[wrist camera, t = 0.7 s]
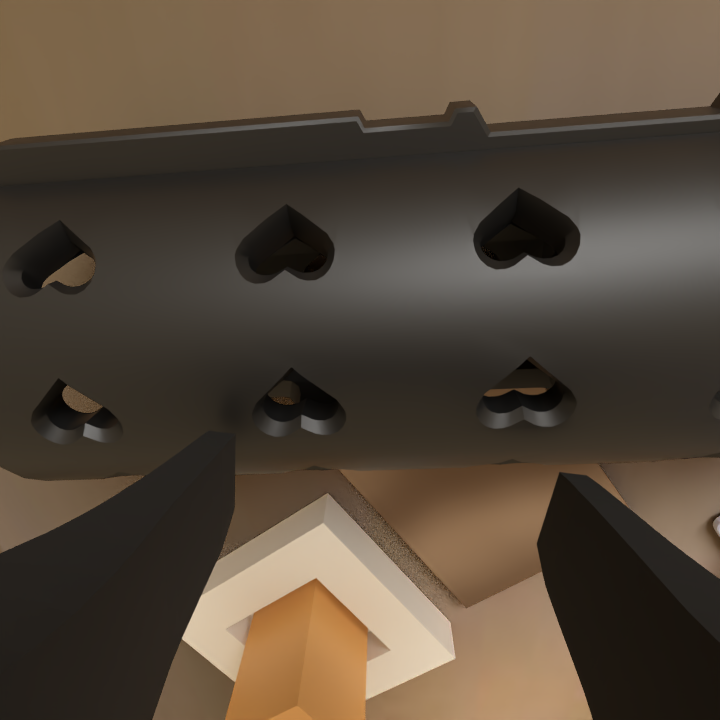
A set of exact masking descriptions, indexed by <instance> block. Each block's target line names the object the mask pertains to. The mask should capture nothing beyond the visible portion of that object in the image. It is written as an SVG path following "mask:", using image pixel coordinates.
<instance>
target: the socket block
mask: <svg viewBox="0 0 720 720" xmlns="http://www.w3.org/2000/svg"><path fill="white" fill-rule="evenodd" d="M315 578H317V579H318V580H319V581H320V582H321V583H322V584H323V585H324V586H325V587H326V588H327V589H328V590H329V591H330V592H331V593H332V594H333V595H334V596H335V597H336V598H337V599H338V600H339V601H340V602H342V603H343V604H344V605H345V606H346V607H347V608H348V609H349V610H350V611H351V612H352V613H353V614H354V615H355V616H356V617H357V618H358V619H359V620H360V621H361V622H362V623H363V624H364V625H365V626H366V627H367V628H368V638H367V670H366V700H367V699H369V698H371V697H374V696H376V695H378V694H380V693H382V692H384V691H386V690H389V689H391V688H393V687H395V686H397V685H399V684H402V683H404V682H406V681H408V680H410V679H412V678H415V677H417V676H419V675H421V674H423V673H425V672H428V671H430V670H432V669H434V668H436V667H438V666H440V665H443V664H445V663H447V662H449V661H451V660H453V659H455V652H454V644H453V637H452V630H451V623H450V621H449V620H448V619H447V618H446V617H445V616H444V615H443V614H442V613H441V612H440V611H439V610H438V609H437V608H436V607H435V606H434V604H433V603H432V602H431V601H430V600H429V599H428V598H427V597H426V596H425V595H424V594H423V593H422V592H421V591H420V590H419V589H418V588H417V587H416V585H415V584H414V583H413V582H412V581H411V580H410V579H409V578H408V577H407V576H406V575H405V574H404V573H403V572H402V571H401V570H400V569H399V568H398V566H397V565H396V564H395V563H394V562H393V561H392V560H391V559H390V558H389V557H388V556H387V555H386V554H385V553H384V552H383V551H382V550H381V549H380V547H379V546H378V545H377V544H376V543H375V542H374V541H373V540H372V539H371V538H370V537H369V536H368V535H367V534H366V533H365V532H364V531H363V530H362V528H361V527H360V526H359V525H358V524H357V523H356V522H355V521H354V520H353V519H352V518H351V517H350V516H349V515H348V514H347V513H346V512H345V511H344V509H343V508H342V507H341V506H340V505H339V504H338V503H337V502H336V501H335V500H334V499H333V498H332V497H331V496H330V495H329V494H328V493H327V494H325V495H324V496H322V497H320V498H319V499H317V500H316V501H314V502H312V503H311V504H309V505H307V506H306V507H304V508H303V509H301V510H299V511H298V512H296V513H294V514H293V515H291V516H290V517H288V518H286V519H285V520H283V521H281V522H280V523H278V524H277V525H275V526H273V527H272V528H270V529H268V530H267V531H265V532H264V533H262V534H260V535H259V536H257V537H255V538H254V539H252V540H251V541H249V542H247V543H246V544H244V545H242V546H241V547H239V548H238V549H236V550H234V551H233V552H231V553H229V554H228V555H226V556H225V557H223V558H221V559H220V560H218V561H217V562H216V564H215V566H214V568H213V571H212V573H211V575H210V577H209V580H208V582H207V584H206V586H205V588H204V591H203V593H202V595H201V597H200V599H199V602H198V604H197V606H196V608H195V611H194V613H193V615H192V617H191V619H190V622H189V624H188V626H187V628H186V630H185V633H184V635H183V637H182V639H183V640H184V641H185V642H186V643H188V644H189V645H190V646H191V647H192V648H194V649H195V650H196V651H197V652H199V653H200V654H201V655H202V656H203V657H205V658H206V659H207V660H208V661H210V662H211V663H212V664H213V665H214V666H216V667H217V668H218V669H219V670H221V671H222V672H223V673H224V674H225V675H227V676H228V677H229V678H230V679H232V680H233V681H234V682H236V678H237V674H238V670H239V667H240V663H241V659H242V656H243V652H244V648H245V645H246V641H247V637H248V633H249V630H250V626H251V622H252V619H253V615H254V613H255V612H256V611H258V610H260V609H262V608H263V607H265V606H267V605H269V604H271V603H272V602H274V601H276V600H278V599H279V598H281V597H283V596H285V595H287V594H288V593H290V592H292V591H294V590H295V589H297V588H299V587H301V586H303V585H304V584H306V583H308V582H310V581H311V580H313V579H315Z"/></svg>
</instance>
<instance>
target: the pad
mask: <svg viewBox="0 0 720 720" xmlns="http://www.w3.org/2000/svg"><path fill="white" fill-rule="evenodd" d="M511 390H513V389H492V390H489V391H487V392H486V393H485V394H484V396H488V397H491V396H499V395H503V394H505V393H507V392H509V391H511ZM514 390H517V391H519V392H521V393H523V394H528V395H538V394H541V393H544V392H546V391H547V390H546V388H517V389H514ZM339 470H340V472H341V473H342V474H343V475H344V476H345V477H346V478H347V479H348V480H349V481H350V482H351V483H352V485H353V486H354V487H355V488H356V489H357V490H358V491H359V492H360V493H361V494H362V495H363V497H364V498H365V499H366V500H367V501H368V502H369V503H370V504H371V505H372V506H373V507H374V508H375V510H376V511H377V512H378V513H379V514H380V515H381V516H382V517H383V518H384V519H385V520H386V522H387V523H388V524H389V525H390V526H391V527H392V528H393V529H394V530H395V531H396V532H397V534H398V535H399V536H400V537H401V538H402V539H403V540H404V541H405V542H406V543H407V544H408V545H409V547H410V548H411V549H412V550H413V551H414V552H415V553H416V554H417V555H418V556H419V557H420V559H421V560H422V561H423V562H424V563H425V564H426V565H427V566H428V567H429V568H430V569H431V570H432V572H433V573H434V574H435V575H436V576H437V577H438V578H439V579H440V580H441V581H442V582H443V584H444V585H445V586H446V587H447V588H448V589H449V590H450V591H451V592H452V593H453V594H454V595H455V597H456V598H457V599H458V600H459V601H460V602H461V603H462V604H463V605H464V606H465V607H466V608H468V607H470V606H472V605H474V604H476V603H478V602H480V601H482V600H484V599H486V598H488V597H490V596H492V595H494V594H496V593H499V592H501V591H503V590H505V589H507V588H509V587H511V586H513V585H515V584H517V583H519V582H521V581H523V580H525V579H527V578H529V577H531V576H533V575H535V574H537V573H539V572H541V571H542V568H541V563H540V558H539V553H538V548H537V541H538V537H539V534H540V531H541V528H542V525H543V522H544V519H545V515H546V512H547V509H548V506H549V503H550V500H551V497H552V494H553V490H554V487H555V484H556V481H557V478H558V475H559V472H563V473H572V474H580V475H587V476H589V477H590V478H591V479H593V480H594V481H596V482H597V483H598V484H600V485H601V486H602V487H603V488H605V489H606V490H607V491H608V492H610V493H611V494H612V495H613V496H615V497H616V498H617V499H618V500H619V501H621V502H622V503H623V504H624V505H626V506H627V507H628V505H627V504H626V503H625V501H624V500H623V498H622V497H621V495H620V494H619V493H618V491H617V490H616V488H615V487H614V485H613V484H612V483H611V481H610V480H609V478H608V477H607V475H606V474H605V473H604V471H603V470H602V468H601V467H600V465H599V464H598V463H596V464H564V465H543V464H536V463H512V464H502V465H496V464H486V465H478V466H470V467H465V468H436V469H404V470H372V471H356V470H344V469H339ZM628 508H629V507H628ZM629 509H630V508H629Z"/></svg>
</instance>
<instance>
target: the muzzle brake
mask: <svg viewBox="0 0 720 720" xmlns="http://www.w3.org/2000/svg"><path fill="white" fill-rule="evenodd" d="M483 246H484V247H485V248H487V249H488V250H490V251H491V252H492V253H494V257H493V259H491V258H489V257H488V256H486V255H485V254H484V252H483V251H482V249H481V247H483ZM83 253H86V254H87V255H88V256H90V257H91V258H93V259H94V261H95V263H96V267H95V273H94V275H93V277H92V278H91V279H90V280H89V281H88V282H86V283H85V284H83V285H81V286H77V287H70V286H65V285H64V284H62V283H60V282H58V281H55V282H52V283H50V284H48V285H46V286H45V287H44V288H41V287H42V284H43V282H44V281H45V280H46V279H47V278H48V277H49V276H50V275H51V274H53V273H54V272H55V271H57V270H58V269H60V268H61V267H62V266H64V265H65V264H66V263H68V262H69V261H71V260H72V259H74V258H76V257H78V256H79V255H81V254H83ZM320 254H321V255H323V256H324V257H326V258H327V260H326V262H325V264H324V265H323V266H322V267H321V268H320V269H319V270H317V271H314V272H311V271H310V270H309V269H308V265H309V264H310V263H311V262H312V261H313V260H314V259H315V258H316V257H318V256H319V255H320ZM67 385H68V386H70V387H71V388H73V389H75V390H76V391H78V392H80V393H81V394H83V395H85V396H87V397H88V398H90V399H92V400H93V401H95V402H97V403H98V404H100V405H102V406H103V407H102V408H101V409H99V410H98V411H96V412H93V413H82V412H78V411H76V410H74V409H72V408H70V407H69V406H68V405H67V404H66V403H65V401H64V400H63V397H62V392H63V389H64V388H65V387H66V386H67ZM517 388H548V389H549V390H547V391H546V392H544V393H541V394H538V395H528V394H523V393H521V392H519V391H517V390H514V389H517ZM492 389H513V390H511V391H509V392H507V393H505V394H503V395H499V396H491V397H488V396H484V394H485V393H486V392H487V391H489V390H492ZM275 397H289V398H291V400H292V401H293V402H294V403H295V404H293V405H283V404H279V403H277V402H275V401H273V400H272V399H271V398H275ZM207 431H215V432H223V433H232V434H236V447H235V475H244V474H276V473H285V472H290V471H296V470H331V469H344V470H356V471H372V470H404V469H436V468H465V467H470V466H478V465H486V464H496V465H502V464H512V463H536V464H543V465H564V464H596V463H628V462H655V461H662V460H671V459H688V458H697V457H719V458H720V93H719V95H718V96H717V98H716V99H715V100H714V102H713V103H712V105H711V106H708V107H696V108H683V109H671V110H658V111H645V112H633V113H620V114H608V115H595V116H583V117H570V118H557V119H545V120H532V121H520V122H507V123H494V124H486V123H485V121H484V119H483V117H482V115H481V114H480V112H479V110H478V108H477V106H475V105H474V104H473V103H472V102H471V101H459V102H450V103H449V105H448V107H447V109H446V112H445V114H443V115H431V116H419V117H406V118H394V119H382V120H370V121H366V120H365V118H364V117H363V115H362V113H361V111H360V110H350V111H338V112H326V113H314V114H302V115H290V116H278V117H266V118H254V119H242V120H230V121H217V122H205V123H193V124H181V125H169V126H157V127H145V128H133V129H121V130H109V131H97V132H85V133H73V134H61V135H49V136H37V137H25V138H14V139H10V140H6V141H3V142H0V467H2V468H3V469H6V470H8V471H10V472H12V473H14V474H16V475H19V476H21V477H23V478H28V479H36V480H44V481H52V480H84V479H105V478H110V477H118V476H129V475H144V476H146V475H148V474H149V473H150V472H152V471H153V470H155V469H156V468H158V467H159V466H160V465H162V464H163V463H165V462H166V461H167V460H169V459H170V458H172V457H173V456H174V455H176V454H177V453H178V452H180V451H181V450H182V449H184V448H185V447H186V446H188V445H189V444H191V443H192V442H193V441H195V440H196V439H197V438H199V437H200V436H202V435H203V434H204V433H206V432H207Z"/></svg>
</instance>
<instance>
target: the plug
mask: <svg viewBox="0 0 720 720" xmlns="http://www.w3.org/2000/svg"><path fill="white" fill-rule="evenodd" d="M367 638H368V628H367V627H366V626H365V625H364V624H363V623H362V622H361V621H360V620H359V619H358V618H357V617H356V616H355V615H354V614H353V613H352V612H351V611H350V610H349V609H348V608H347V607H346V606H345V605H344V604H343V603H342V602H340V601H339V600H338V599H337V598H336V597H335V596H334V595H333V594H332V593H331V592H330V591H329V590H328V589H327V588H326V587H325V586H324V585H323V584H322V583H321V582H320V581H319V580H318V579H317V578H315V579H313V580H311V581H310V582H308V583H306V584H304V585H303V586H301V587H299V588H297V589H295V590H294V591H292V592H290V593H288V594H287V595H285V596H283V597H281V598H279V599H278V600H276V601H274V602H272V603H271V604H269V605H267V606H265V607H263V608H262V609H260V610H258V611H256V612H255V613H254V615H253V619H252V622H251V626H250V630H249V633H248V637H247V641H246V645H245V648H244V652H243V656H242V659H241V663H240V667H239V670H238V674H237V678H236V682H235V685H234V689H233V693H232V696H231V700H230V704H229V708H228V711H227V715H226V719H225V720H365V703H366V670H367Z"/></svg>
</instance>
